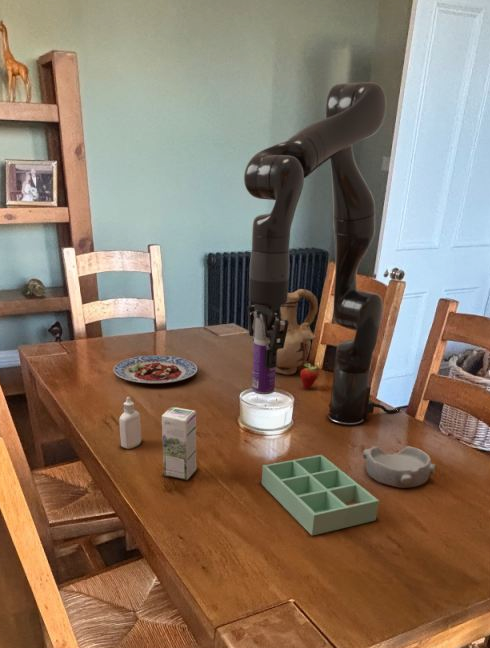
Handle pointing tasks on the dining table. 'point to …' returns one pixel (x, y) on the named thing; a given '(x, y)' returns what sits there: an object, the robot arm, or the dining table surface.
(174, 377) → the ceramic plate
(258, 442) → the dining table surface
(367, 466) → the dish
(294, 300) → the ceramic vessel
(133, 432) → the eye dropper bottle
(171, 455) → the syrup box
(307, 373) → the fruit
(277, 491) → the rack
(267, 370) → the container
